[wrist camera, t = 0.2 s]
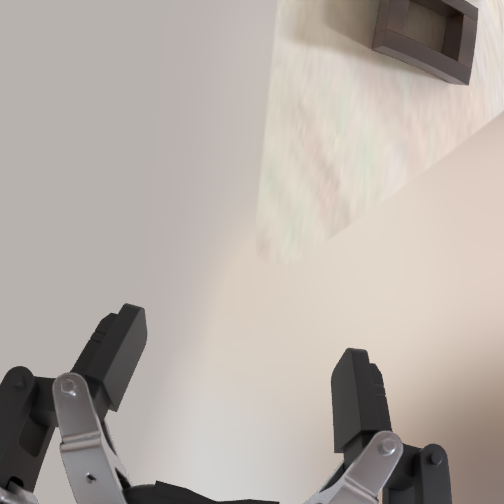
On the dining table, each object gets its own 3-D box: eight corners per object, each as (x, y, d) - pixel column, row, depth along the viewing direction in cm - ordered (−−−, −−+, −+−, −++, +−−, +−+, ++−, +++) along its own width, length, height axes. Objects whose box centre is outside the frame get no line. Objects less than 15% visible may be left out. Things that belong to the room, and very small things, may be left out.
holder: (383, -24, 21) (394, -35, 17) (461, 13, 21) (478, 8, 17) (371, 50, 27) (382, 45, 23) (450, 83, 27) (468, 85, 23)
